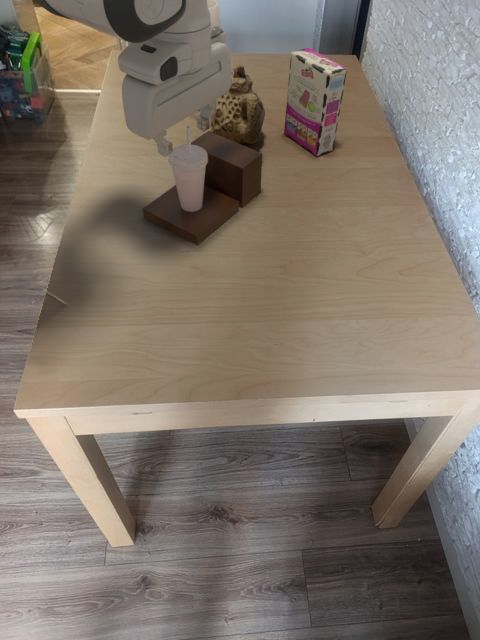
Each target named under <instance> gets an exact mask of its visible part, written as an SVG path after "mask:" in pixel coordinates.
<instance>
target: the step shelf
mask: <svg viewBox="0 0 480 640" xmlns="http://www.w3.org/2000/svg"><path fill="white" fill-rule="evenodd" d="M191 145H197V146H199V147H201V148H203V149H204V150H205V151H206V152H207V157H208V162H207V164H206V168H205V179H204V190H203V202H202V207H201V209H199V210H197V211H194V212H189V211H185V210H184V209H182V207H181V204H180V199H179V195H178V191H177V187H176V184H175V185H173V186H172V187H171V188H169V189H168V190H166V191H165V192H164V193H162V194H160V195H159V196H158V197H157V198H155V199H154V200H152V201H151V202H150V203H148V204H146V206H144V207H142V213H143V218H144V219H145V220H147V221H149V222H151V223H152V224H155V225H157V226H159V227H161V228H163V229H165V230H167V231H169V232H171V233H173V234H174V235H176V236H178V237H179V238H182V239H184V240H186V241H188V242H190V243H192V244H194V245H196V246H198V245H200V244H201V243H203V241H204V240H206V239H207V238H208V237H209V236H210V235H212V234H213V233H214V232H215V231H216V230H218V229H219V228H220V227H221V226H222V225H224V223H226V222H228V220H230V218H232V217H233V216H234V215H235V214H236V213H238V212H239V210H240V208H244V207H245V206H246V205H247V204H248V203H250V202H251V201H252V200H254V199H255V198H256V197H257V196H258V195H259V194H260V193H261V189H262V170H263V152H260V151H258V150H256V149H253V148H251V147H249V146H246V145H243V144H239V143H236V142H234V141H232V140H229V139H227V138H224V137H222V136H220V135H217V134H216V133H215V132H213V131H211V130H208V131H205V133H204V134H202V135H200V136H199V137H197V138H196V139H194V140H193V141H191Z"/></svg>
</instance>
